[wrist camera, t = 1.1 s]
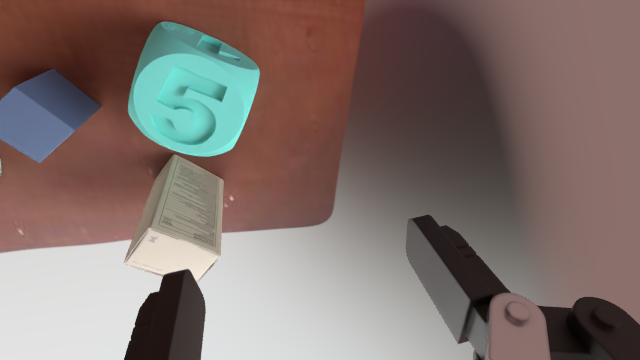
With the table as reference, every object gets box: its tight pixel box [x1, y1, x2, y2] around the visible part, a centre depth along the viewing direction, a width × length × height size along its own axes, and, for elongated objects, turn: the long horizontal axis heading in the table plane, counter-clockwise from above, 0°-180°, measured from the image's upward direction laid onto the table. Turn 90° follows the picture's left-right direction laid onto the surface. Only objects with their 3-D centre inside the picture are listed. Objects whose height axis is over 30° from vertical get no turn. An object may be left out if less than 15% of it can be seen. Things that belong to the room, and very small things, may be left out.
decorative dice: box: [128, 21, 260, 156], centre depth 26 cm, size 8×8×8 cm
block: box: [0, 69, 101, 163], centre depth 26 cm, size 4×4×6 cm
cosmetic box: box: [124, 154, 223, 283], centre depth 30 cm, size 6×4×12 cm
